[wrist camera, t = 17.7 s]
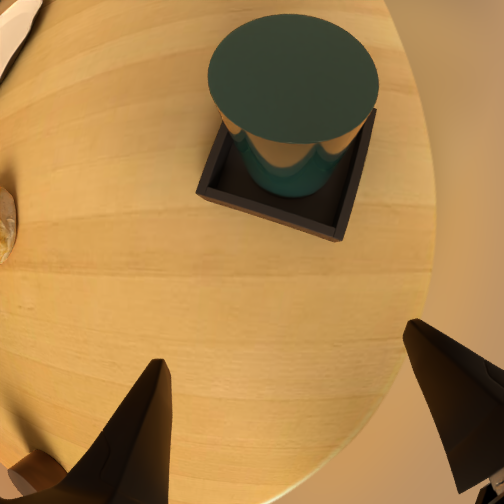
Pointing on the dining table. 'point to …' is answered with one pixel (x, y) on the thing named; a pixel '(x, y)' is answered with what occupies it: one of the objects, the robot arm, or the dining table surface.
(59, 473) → the stand
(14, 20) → the plate
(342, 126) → the teal cylinder
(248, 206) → the dark square tray
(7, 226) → the bread roll
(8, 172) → the dining table surface
